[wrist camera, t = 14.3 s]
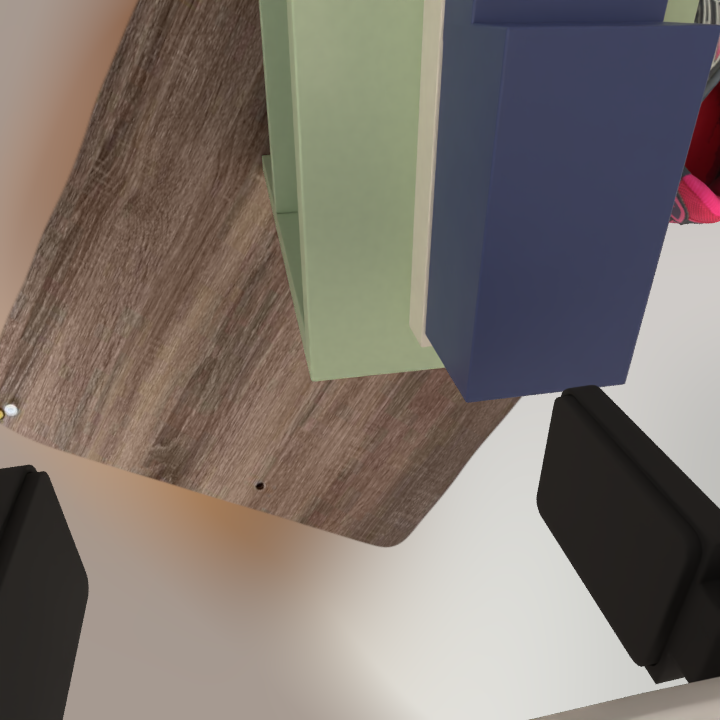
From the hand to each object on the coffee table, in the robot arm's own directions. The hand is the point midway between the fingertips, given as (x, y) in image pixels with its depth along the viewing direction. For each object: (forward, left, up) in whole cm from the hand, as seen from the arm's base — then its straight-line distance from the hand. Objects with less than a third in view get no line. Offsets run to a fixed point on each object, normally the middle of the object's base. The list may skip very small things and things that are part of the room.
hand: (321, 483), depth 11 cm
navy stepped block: (+7, +4, -10) cm, 13 cm away
